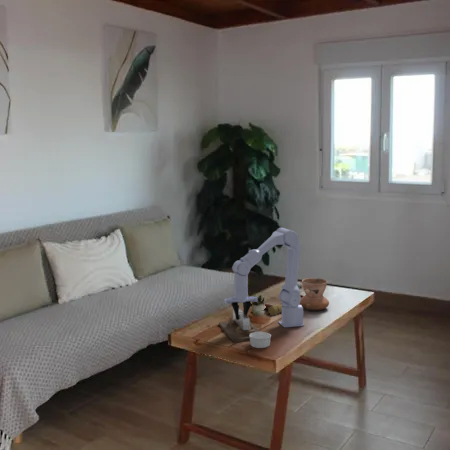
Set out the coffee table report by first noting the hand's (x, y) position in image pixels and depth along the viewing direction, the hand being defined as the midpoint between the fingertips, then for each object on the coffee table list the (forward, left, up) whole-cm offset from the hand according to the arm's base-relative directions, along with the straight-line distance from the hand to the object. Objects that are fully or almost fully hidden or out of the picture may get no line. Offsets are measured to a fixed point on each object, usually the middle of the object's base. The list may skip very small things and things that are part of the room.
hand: (241, 318), depth 265 cm
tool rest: (0, 0, -6) cm, 6 cm away
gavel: (-21, -30, -7) cm, 37 cm away
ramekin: (-3, +18, -6) cm, 19 cm away
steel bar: (0, 0, -2) cm, 2 cm away
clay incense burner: (-45, -25, -6) cm, 52 cm away
